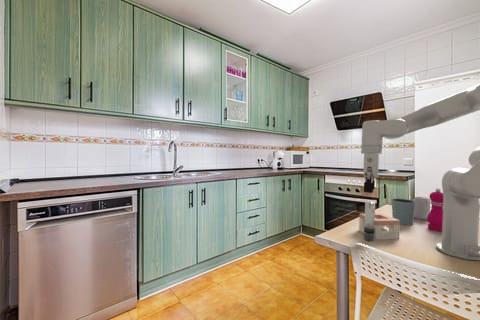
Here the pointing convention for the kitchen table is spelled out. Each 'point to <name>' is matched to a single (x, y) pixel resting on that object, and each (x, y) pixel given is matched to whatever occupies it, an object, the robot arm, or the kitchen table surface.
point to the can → (421, 208)
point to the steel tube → (369, 221)
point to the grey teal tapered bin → (403, 210)
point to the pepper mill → (436, 211)
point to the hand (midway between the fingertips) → (369, 190)
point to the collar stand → (382, 226)
